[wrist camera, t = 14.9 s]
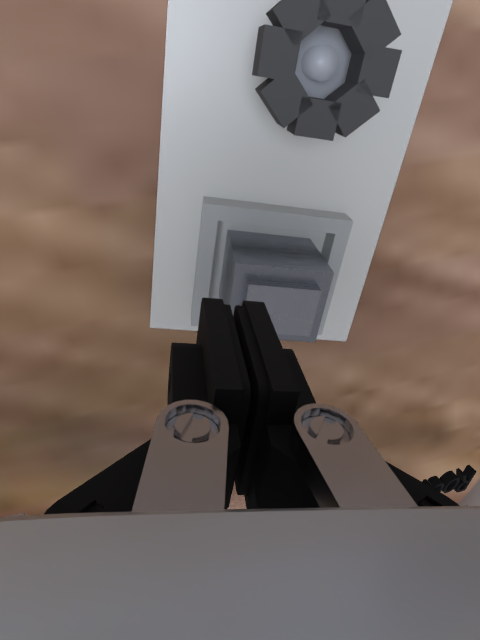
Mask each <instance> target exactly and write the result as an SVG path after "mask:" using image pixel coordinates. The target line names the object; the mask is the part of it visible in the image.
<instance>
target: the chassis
mask: <svg viewBox="0 0 480 640" xmlns="http://www.w3.org/2000/svg"><path fill="white" fill-rule="evenodd" d="M279 1H280V0H168V13H167V31H166V49H165V67H164V84H163V102H162V120H161V138H160V155H159V173H158V191H157V209H156V226H155V244H154V262H153V280H152V298H151V315H150V328H163V329H177V330H191V331H198V325H199V316H200V308H201V301H202V298H217V299H219V288H220V280H221V273H222V266H223V258H224V251H225V244H226V236H227V230H236V231H245V232H254V233H264V234H273V235H282V236H292V237H301V238H310V239H311V241H312V242H313V243H314V245H315V246H316V248H317V249H318V250H319V252H320V253H321V255H322V256H323V258H324V259H325V260H326V262H327V263H328V265H329V266H330V267H331V269H332V270H333V272H334V275H333V279H332V283H331V286H330V290H329V294H328V297H327V301H326V305H325V308H324V312H323V316H322V320H321V323H320V327H319V331H318V334H317V338H316V339H320V340H334V341H346V340H347V337H348V334H349V330H350V327H351V324H352V321H353V318H354V314H355V311H356V308H357V305H358V302H359V298H360V295H361V292H362V289H363V286H364V283H365V279H366V276H367V273H368V270H369V267H370V263H371V260H372V257H373V254H374V251H375V247H376V244H377V241H378V238H379V235H380V231H381V228H382V225H383V222H384V219H385V216H386V212H387V209H388V206H389V203H390V200H391V196H392V193H393V190H394V187H395V184H396V180H397V177H398V174H399V171H400V168H401V164H402V161H403V158H404V155H405V152H406V149H407V145H408V142H409V139H410V136H411V133H412V129H413V126H414V123H415V120H416V117H417V113H418V110H419V107H420V104H421V101H422V97H423V94H424V91H425V88H426V85H427V82H428V78H429V75H430V72H431V69H432V66H433V62H434V59H435V56H436V53H437V50H438V46H439V43H440V40H441V37H442V34H443V30H444V27H445V24H446V21H447V18H448V15H449V11H450V8H451V5H452V2H453V0H386V1H387V3H388V5H389V7H390V10H391V12H392V14H393V16H394V19H395V21H396V23H397V25H398V28H399V30H400V32H401V35H400V36H399V37H398V38H396V39H395V40H394V41H393V42H391V43H390V44H389V45H388V46H386V47H387V48H393V49H398V50H402V53H401V56H400V60H399V64H398V67H397V71H396V74H395V78H394V81H393V85H392V89H391V92H390V96H389V98H383V97H377V96H373V97H374V99H375V101H376V103H377V105H378V107H379V109H380V112H378V113H377V114H376V115H374V116H373V117H372V118H370V119H369V120H368V121H366V122H365V123H364V124H363V125H361V126H360V127H359V128H357V129H356V130H355V131H353V132H352V133H351V134H349V135H348V136H347V137H346V138H345V137H343V136H341V135H339V134H337V133H335V135H334V139H333V141H329V140H323V139H316V138H309V137H302V136H296V135H293V134H292V133H290V132H289V131H287V126H288V125H287V126H286V127H285V128H283V127H281V126H280V125H278V124H277V123H276V122H275V120H274V118H273V117H272V115H271V114H270V112H269V111H268V109H267V107H266V106H265V104H264V103H263V101H262V100H261V98H260V96H259V95H258V93H257V92H256V90H255V88H256V87H258V86H259V85H260V84H261V83H262V82H264V81H265V80H266V79H267V78H265V77H259V76H254V75H252V71H253V63H254V56H255V49H256V42H257V35H258V28H259V27H260V26H262V25H264V24H266V25H271V26H273V25H272V23H271V22H270V20H269V18H268V16H267V15H266V13H267V12H268V11H269V10H270V9H271V8H272V7H274V6H275V5H276V4H277V3H278V2H279ZM350 58H351V52H350V50H349V48H348V46H347V44H346V42H345V40H344V38H343V36H342V34H341V32H340V30H339V29H336V28H331V27H326V26H321V25H320V26H318V27H317V28H316V29H315V30H314V31H312V32H311V33H310V34H309V35H308V36H306V37H305V38H304V39H303V40H302V41H301V44H300V49H299V55H298V60H297V65H296V71H295V74H296V76H297V77H298V79H299V81H300V83H301V84H302V86H303V88H304V89H305V91H306V93H307V95H308V96H309V97H315V98H321V99H325V98H326V97H327V96H328V95H330V94H331V93H332V92H333V91H335V90H336V89H337V88H338V87H340V86H341V85H342V84H343V83H345V80H346V75H347V71H348V67H349V62H350Z"/></svg>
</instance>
